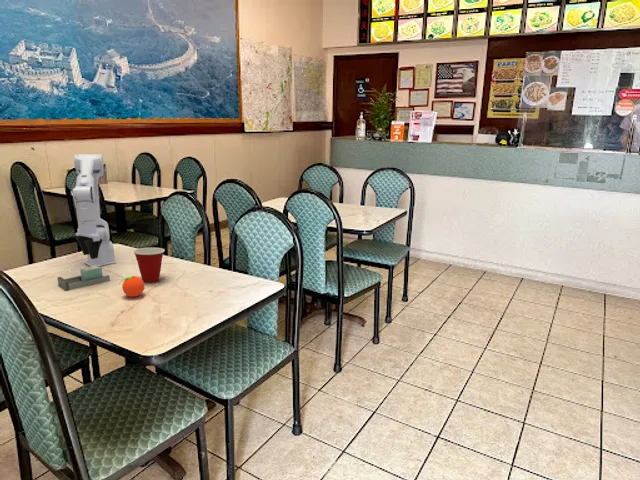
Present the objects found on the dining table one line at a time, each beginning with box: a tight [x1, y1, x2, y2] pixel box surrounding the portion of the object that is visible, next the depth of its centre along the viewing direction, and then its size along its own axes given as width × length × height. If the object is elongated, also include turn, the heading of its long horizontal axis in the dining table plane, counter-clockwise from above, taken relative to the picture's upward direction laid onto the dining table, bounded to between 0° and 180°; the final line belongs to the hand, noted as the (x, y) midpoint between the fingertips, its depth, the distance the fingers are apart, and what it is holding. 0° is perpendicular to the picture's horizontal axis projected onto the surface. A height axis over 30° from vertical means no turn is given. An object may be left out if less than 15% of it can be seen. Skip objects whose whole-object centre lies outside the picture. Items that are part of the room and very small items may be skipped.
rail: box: [57, 274, 111, 292], centre depth 163 cm, size 15×7×3 cm, turn 138°
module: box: [80, 266, 104, 281], centre depth 164 cm, size 6×4×5 cm, turn 138°
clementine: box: [118, 276, 145, 298], centre depth 152 cm, size 8×7×7 cm
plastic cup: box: [132, 247, 166, 284], centre depth 166 cm, size 11×11×12 cm
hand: (90, 256), depth 163 cm, fingers open, 6 cm apart
